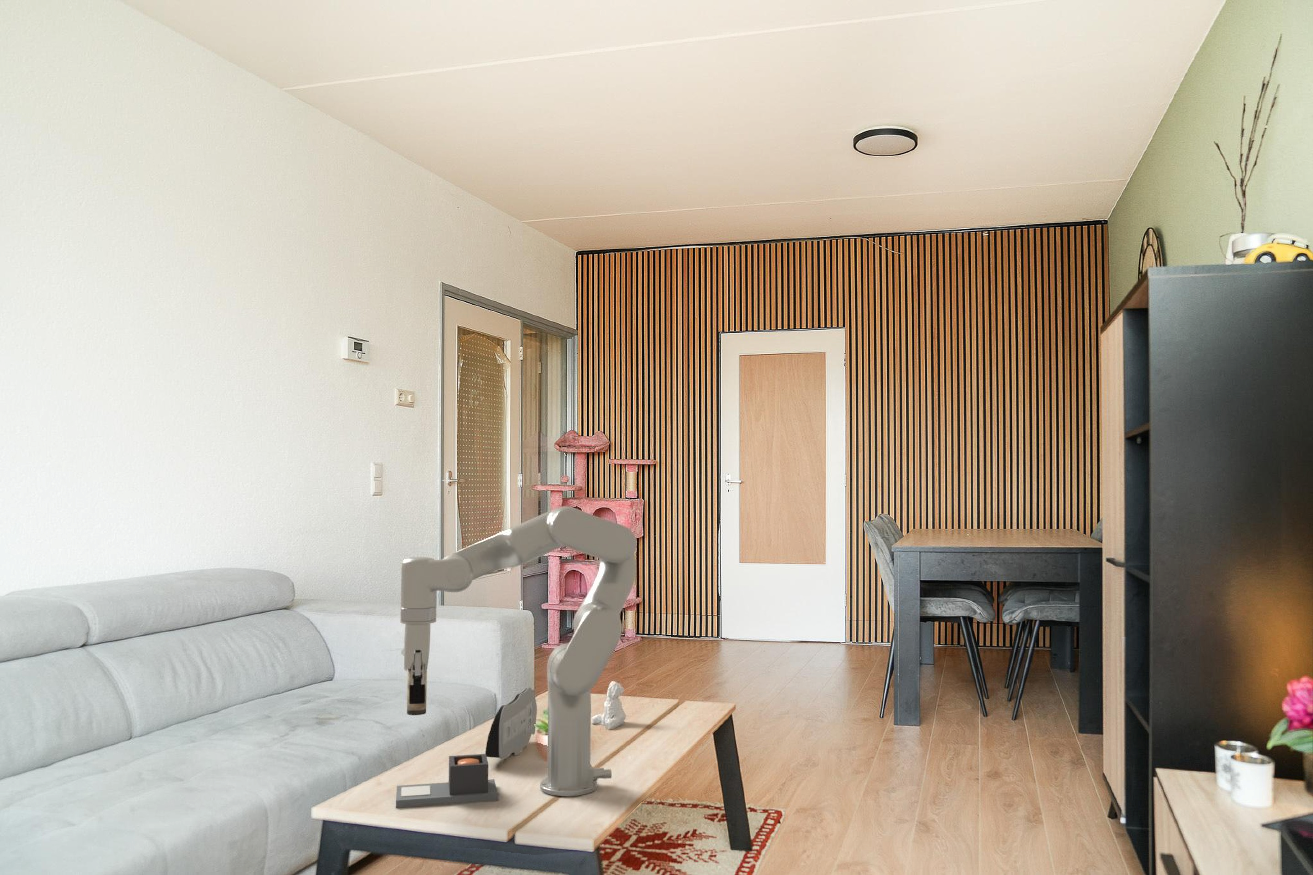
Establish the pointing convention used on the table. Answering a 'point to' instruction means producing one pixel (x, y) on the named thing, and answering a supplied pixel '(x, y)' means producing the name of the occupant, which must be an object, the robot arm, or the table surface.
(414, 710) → the beige wooden cylinder
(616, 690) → the white creature statuette
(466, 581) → the robot arm
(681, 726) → the table surface
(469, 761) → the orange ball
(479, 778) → the board
